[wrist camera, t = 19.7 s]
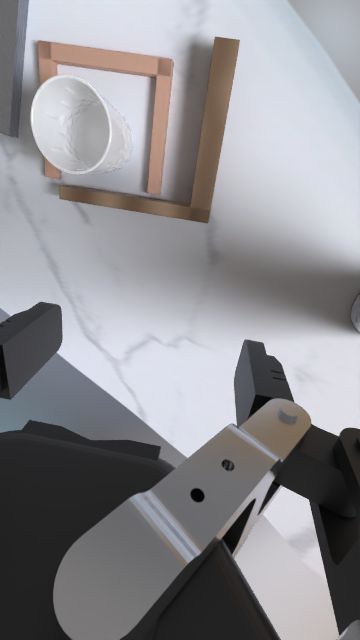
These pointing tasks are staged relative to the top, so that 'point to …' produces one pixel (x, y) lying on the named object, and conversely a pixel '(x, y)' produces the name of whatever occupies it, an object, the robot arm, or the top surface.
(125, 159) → the white cup
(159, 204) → the wooden l-shaped bracket
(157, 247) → the top surface
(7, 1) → the straight bar
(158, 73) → the corral frame
